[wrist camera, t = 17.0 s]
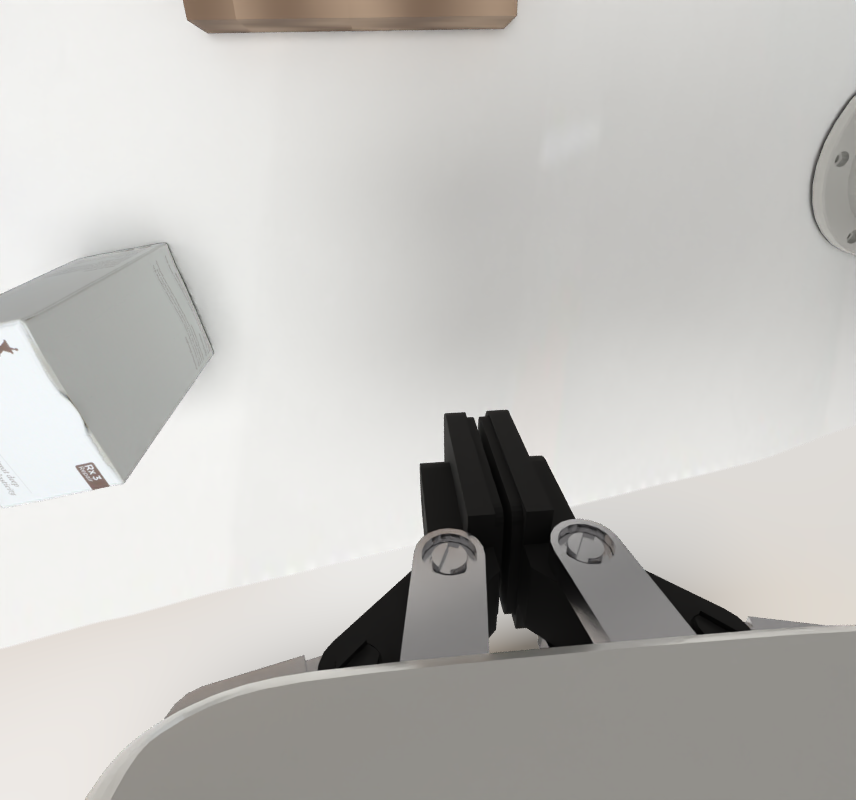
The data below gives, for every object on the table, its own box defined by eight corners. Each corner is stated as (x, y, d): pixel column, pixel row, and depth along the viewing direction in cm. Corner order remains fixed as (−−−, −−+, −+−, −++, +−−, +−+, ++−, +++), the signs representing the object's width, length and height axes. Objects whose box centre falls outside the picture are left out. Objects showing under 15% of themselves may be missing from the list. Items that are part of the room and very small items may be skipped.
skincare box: (80, 257, 30) (-152, 341, 17) (173, 239, 30) (11, 311, 17) (140, 374, 34) (-12, 516, 21) (222, 359, 34) (121, 491, 21)
